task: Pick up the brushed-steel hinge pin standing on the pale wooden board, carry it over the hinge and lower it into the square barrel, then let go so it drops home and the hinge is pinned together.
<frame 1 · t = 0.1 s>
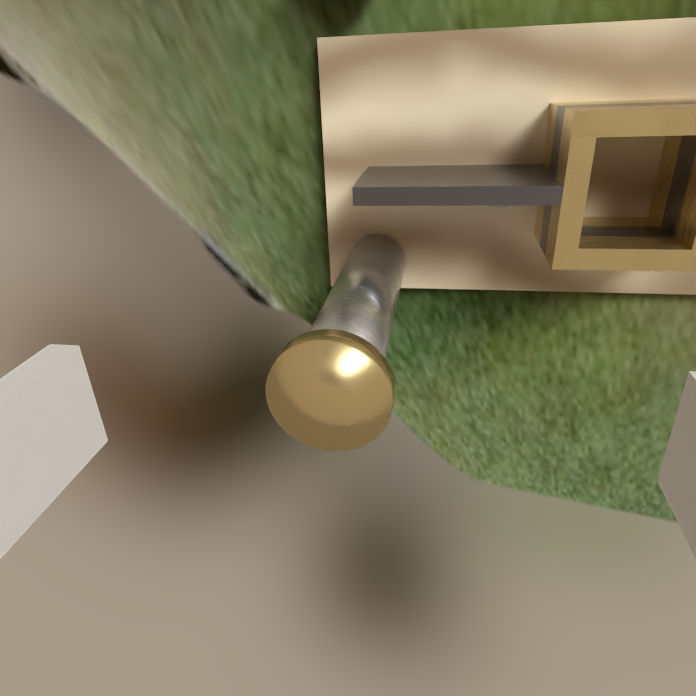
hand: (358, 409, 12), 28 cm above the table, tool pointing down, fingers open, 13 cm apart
mounting board: (596, 168, 34), on the table
hinge: (609, 171, 33), resting on mounting board
hinge pin: (377, 261, 38), point 1 cm above the table, touching mounting board
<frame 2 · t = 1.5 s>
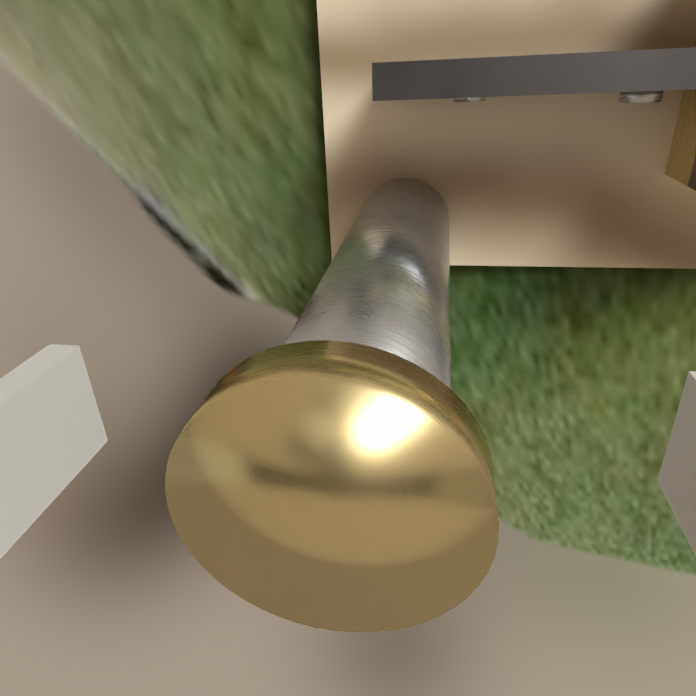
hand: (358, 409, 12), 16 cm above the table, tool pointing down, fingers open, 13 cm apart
hinge pin: (404, 222, 24), point 1 cm above the table, touching mounting board
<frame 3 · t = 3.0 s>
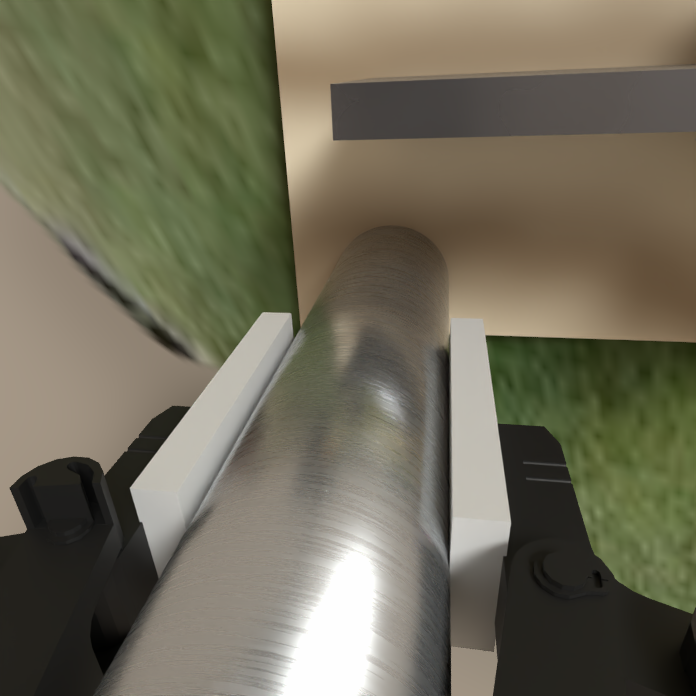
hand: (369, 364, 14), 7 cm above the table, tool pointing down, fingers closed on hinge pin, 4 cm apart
hinge pin: (391, 281, 19), point 1 cm above the table, touching gripper, mounting board
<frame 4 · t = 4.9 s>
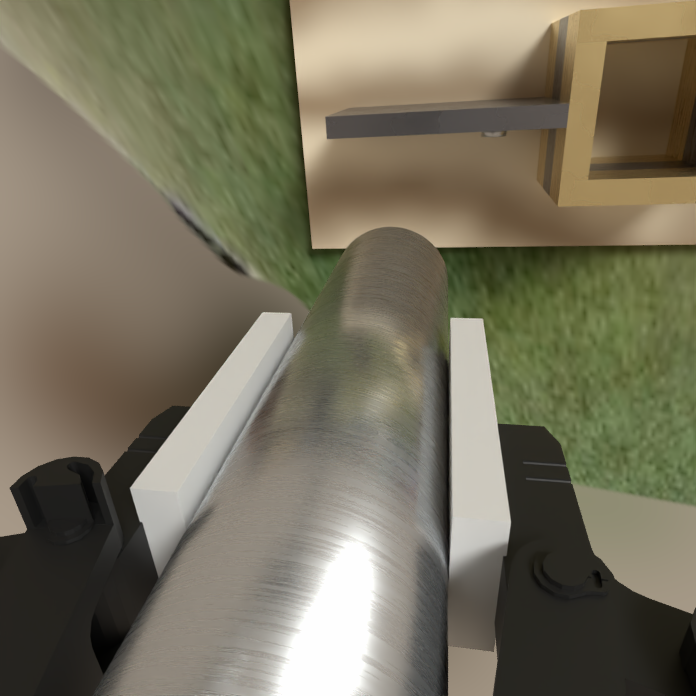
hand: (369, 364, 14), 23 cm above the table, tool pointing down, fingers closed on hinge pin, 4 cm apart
mounting board: (604, 101, 30), on the table
hinge: (620, 102, 29), resting on mounting board
hinge pin: (391, 282, 19), point 17 cm above the table, touching gripper
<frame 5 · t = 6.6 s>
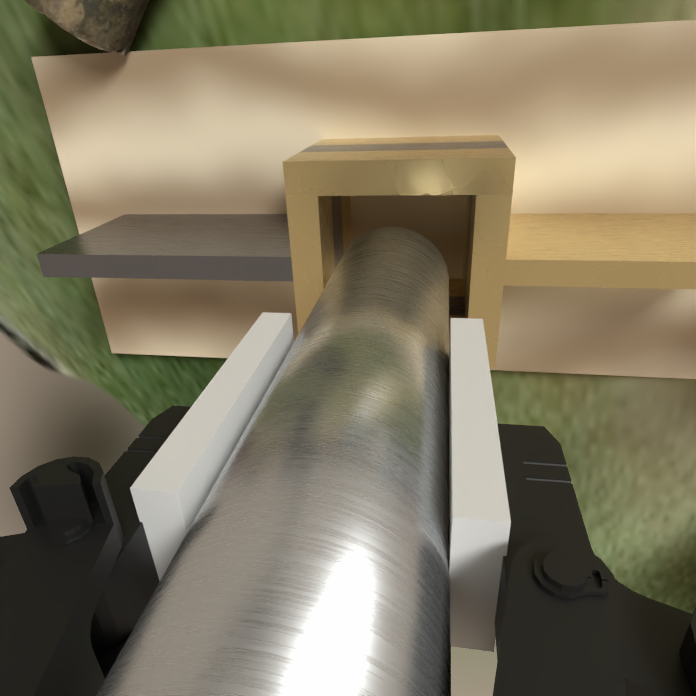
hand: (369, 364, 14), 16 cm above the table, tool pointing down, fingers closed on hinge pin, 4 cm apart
mounting board: (399, 217, 27), on the table
hinge: (407, 223, 26), resting on mounting board
hinge pin: (391, 282, 19), point 9 cm above the table, touching gripper
when the fingers open (10 cm above the table, at t = 8.0 s): hinge pin drops 3 cm, resting on mounting board.
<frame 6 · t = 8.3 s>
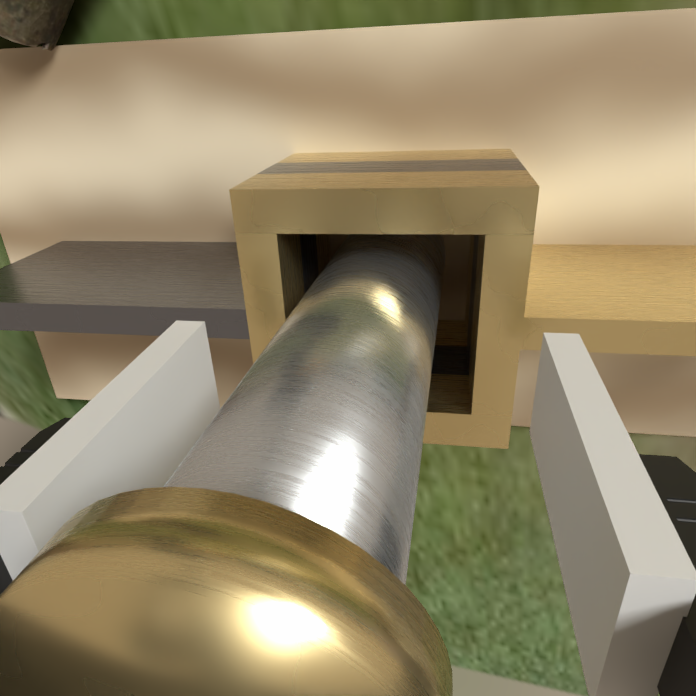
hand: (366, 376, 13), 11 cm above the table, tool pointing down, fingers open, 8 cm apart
mounting board: (389, 246, 23), on the table
hinge: (398, 255, 22), resting on mounting board
hinge pin: (395, 255, 22), point 1 cm above the table, touching mounting board
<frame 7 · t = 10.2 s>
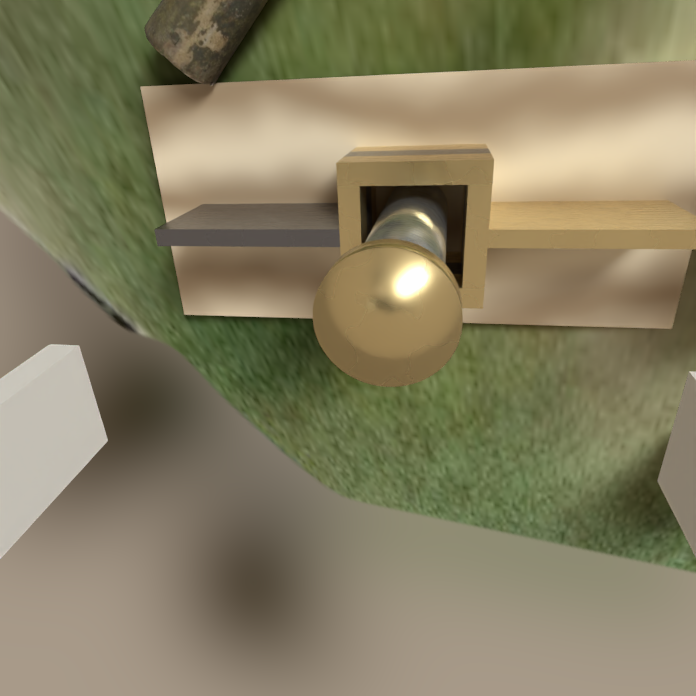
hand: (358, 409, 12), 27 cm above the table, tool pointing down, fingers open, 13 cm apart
mounting board: (412, 206, 36), on the table
hinge: (418, 210, 35), resting on mounting board
hinge pin: (416, 209, 35), point 1 cm above the table, touching mounting board
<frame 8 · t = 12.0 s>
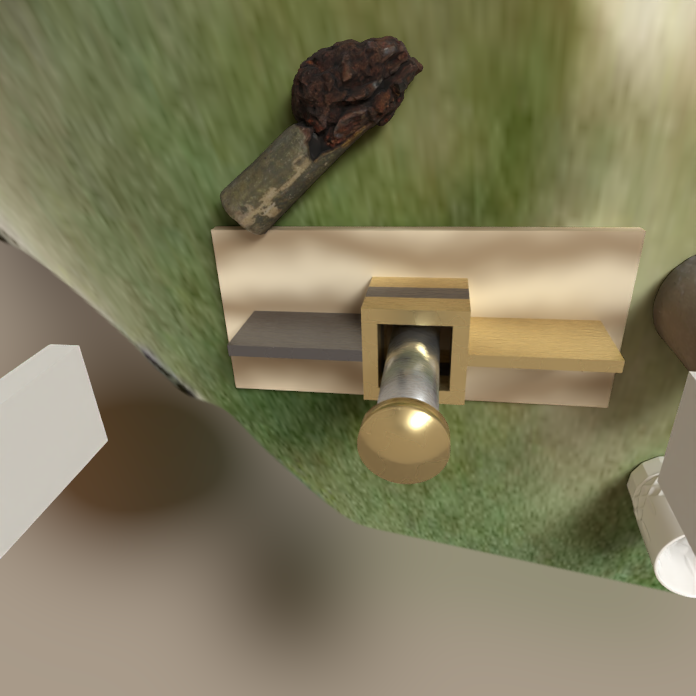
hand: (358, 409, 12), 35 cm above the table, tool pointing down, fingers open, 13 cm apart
mounting board: (413, 314, 48), on the table
white cup: (663, 480, 52), on the table
branch with fungus: (318, 127, 43), on the table
hinge: (418, 320, 47), resting on mounting board
hinge pin: (417, 320, 47), point 1 cm above the table, touching mounting board
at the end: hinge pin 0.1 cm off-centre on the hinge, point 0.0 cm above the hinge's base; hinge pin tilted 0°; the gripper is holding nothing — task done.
